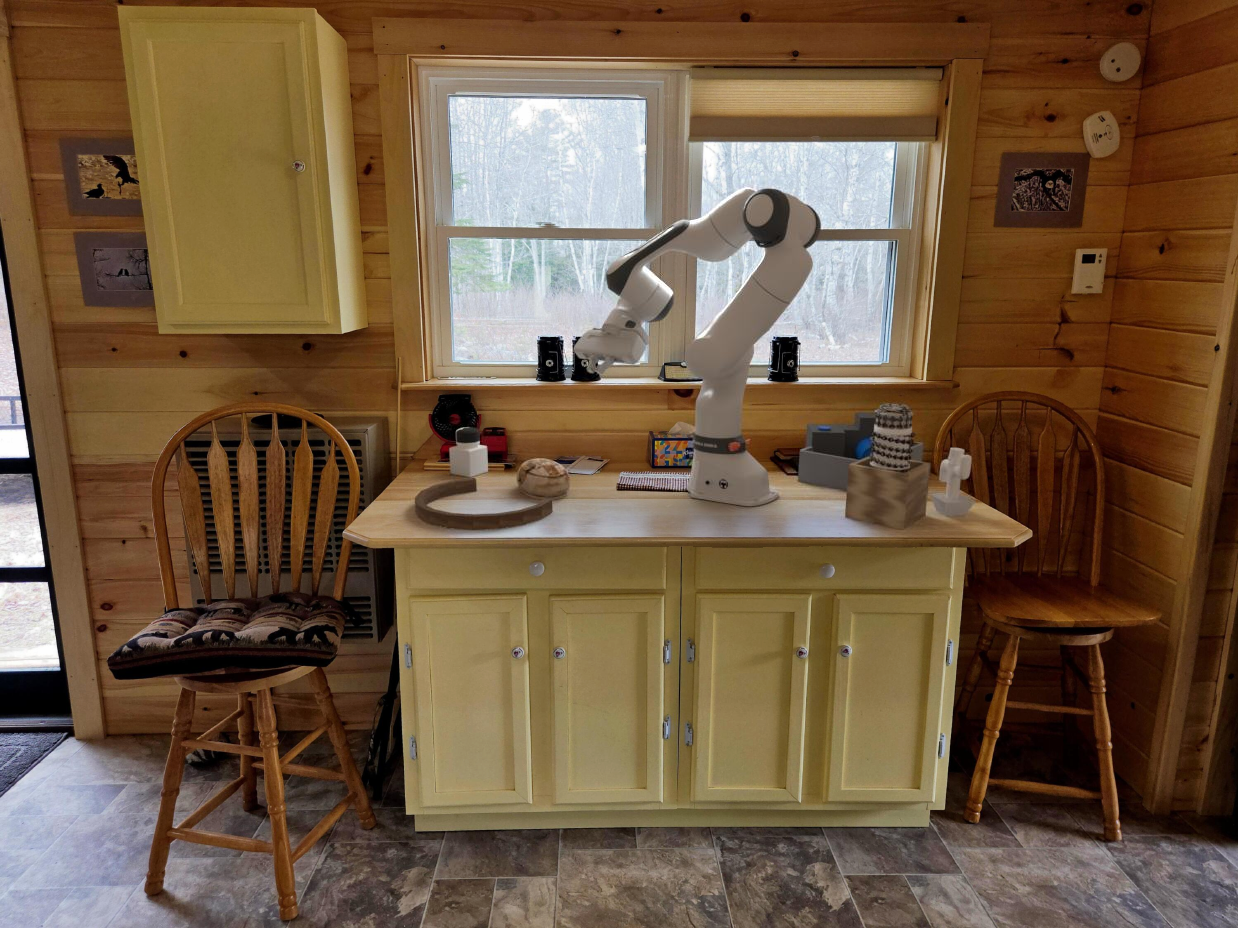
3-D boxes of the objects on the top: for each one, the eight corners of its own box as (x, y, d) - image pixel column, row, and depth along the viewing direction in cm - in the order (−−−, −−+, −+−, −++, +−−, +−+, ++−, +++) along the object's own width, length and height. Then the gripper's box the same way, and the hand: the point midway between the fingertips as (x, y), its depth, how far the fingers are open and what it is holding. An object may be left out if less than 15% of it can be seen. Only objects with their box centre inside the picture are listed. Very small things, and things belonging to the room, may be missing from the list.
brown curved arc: (558, 513, 183) (558, 500, 183) (475, 540, 166) (475, 526, 165) (469, 488, 203) (469, 476, 202) (387, 509, 186) (386, 496, 185)
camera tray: (922, 472, 219) (925, 443, 217) (874, 496, 197) (876, 464, 195) (848, 459, 233) (851, 431, 231) (796, 480, 211) (798, 450, 209)
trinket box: (532, 481, 210) (531, 451, 208) (583, 489, 203) (583, 458, 201) (502, 494, 198) (501, 463, 196) (556, 503, 191) (555, 470, 190)
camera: (812, 483, 210) (816, 423, 206) (804, 467, 225) (807, 411, 221) (912, 486, 208) (918, 425, 204) (897, 470, 223) (903, 413, 219)
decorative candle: (902, 525, 176) (913, 410, 170) (859, 518, 181) (868, 406, 175) (910, 513, 184) (921, 404, 178) (868, 507, 189) (877, 400, 182)
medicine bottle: (488, 471, 218) (487, 427, 215) (470, 477, 212) (468, 432, 209) (468, 468, 222) (466, 424, 219) (449, 474, 216) (447, 429, 213)
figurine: (954, 506, 190) (961, 443, 186) (976, 518, 181) (984, 452, 177) (924, 507, 189) (931, 443, 185) (945, 520, 180) (953, 453, 176)
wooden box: (925, 515, 183) (930, 463, 180) (901, 529, 174) (907, 474, 171) (870, 503, 191) (874, 453, 188) (844, 516, 182) (848, 464, 179)
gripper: (584, 319, 216) (558, 360, 212) (644, 324, 203) (618, 367, 199) (595, 335, 221) (570, 375, 216) (655, 341, 208) (630, 383, 203)
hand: (594, 371), depth 207 cm, fingers closed
